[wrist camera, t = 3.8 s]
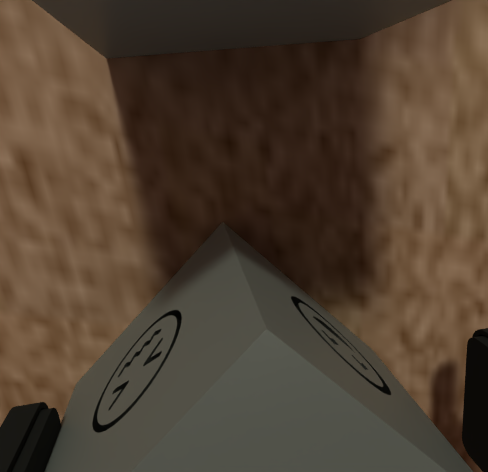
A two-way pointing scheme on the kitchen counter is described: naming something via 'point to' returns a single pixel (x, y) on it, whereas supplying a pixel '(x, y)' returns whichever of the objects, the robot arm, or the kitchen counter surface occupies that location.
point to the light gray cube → (223, 22)
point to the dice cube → (243, 384)
